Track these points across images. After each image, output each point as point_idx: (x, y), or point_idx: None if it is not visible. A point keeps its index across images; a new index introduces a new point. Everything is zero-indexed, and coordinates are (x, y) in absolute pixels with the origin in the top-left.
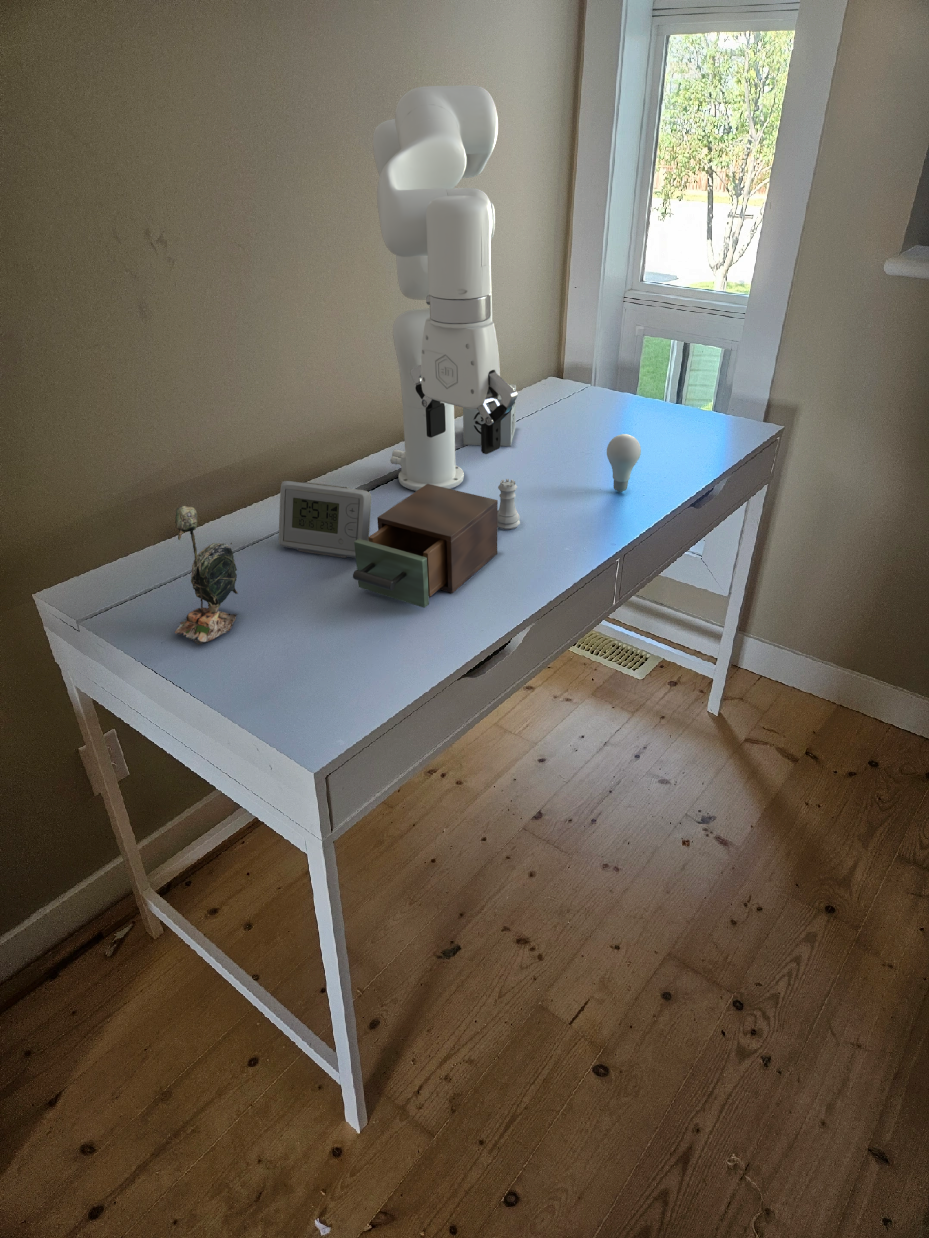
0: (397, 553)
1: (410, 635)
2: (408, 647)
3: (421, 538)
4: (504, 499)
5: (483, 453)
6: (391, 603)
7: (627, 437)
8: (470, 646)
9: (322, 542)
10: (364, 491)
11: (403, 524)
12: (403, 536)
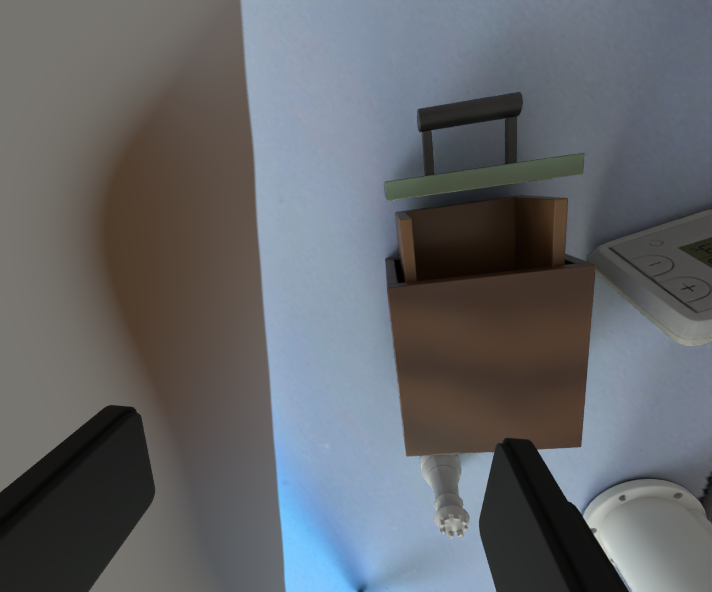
0: (454, 173)
1: (360, 114)
2: (339, 82)
3: None
4: (446, 492)
5: (126, 407)
6: None
7: None
8: (265, 153)
9: (695, 225)
10: (701, 334)
11: (515, 273)
12: None
